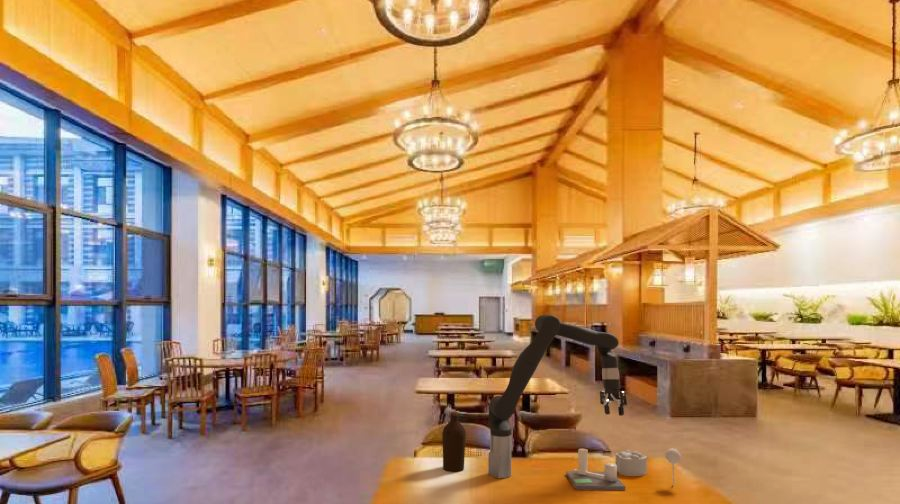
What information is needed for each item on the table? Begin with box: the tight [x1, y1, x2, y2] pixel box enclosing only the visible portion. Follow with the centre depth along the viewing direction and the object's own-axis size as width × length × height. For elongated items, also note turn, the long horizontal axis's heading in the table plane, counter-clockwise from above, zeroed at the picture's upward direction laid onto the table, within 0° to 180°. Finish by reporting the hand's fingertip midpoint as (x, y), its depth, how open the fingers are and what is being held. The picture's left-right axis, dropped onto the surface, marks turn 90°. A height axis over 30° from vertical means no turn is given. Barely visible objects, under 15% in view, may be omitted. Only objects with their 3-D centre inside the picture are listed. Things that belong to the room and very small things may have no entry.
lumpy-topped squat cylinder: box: [615, 449, 648, 477], centre depth 240 cm, size 10×13×9 cm
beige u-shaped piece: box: [573, 447, 618, 482], centre depth 227 cm, size 18×5×10 cm, turn 54°
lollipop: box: [664, 447, 682, 486], centre depth 223 cm, size 6×6×15 cm
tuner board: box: [565, 470, 626, 491], centre depth 225 cm, size 20×18×2 cm
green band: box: [573, 479, 593, 483], centre depth 221 cm, size 7×4×1 cm, turn 96°
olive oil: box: [441, 410, 467, 473], centre depth 240 cm, size 11×11×25 cm
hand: (614, 414), depth 242 cm, fingers open, 8 cm apart
